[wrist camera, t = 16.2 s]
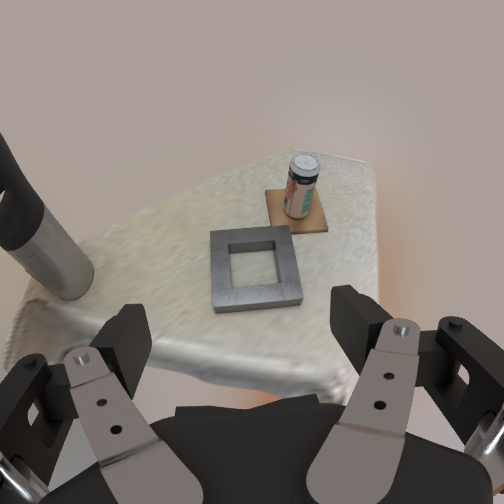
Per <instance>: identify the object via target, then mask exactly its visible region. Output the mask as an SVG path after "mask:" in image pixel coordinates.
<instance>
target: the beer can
mask: <svg viewBox="0 0 504 504" xmlns="http://www.w3.org/2000/svg"><path fill="white" fill-rule="evenodd" d="M319 171H320V165H319V162H318V160H317V159H316V157H314V156H312V155H311V154H308V153H300V154H297V155H295V157H294V158H293V159H292V160H291V161H290V166H289V173H288V180H287V187H286V194H285V201H284V211H285V212H286V214H287V215H289V216H290V217H293V218H303V217H305V216H307V215H308V213H309V210H310V205H311V201H312V198H313V194H314V190H315V186H316V182H317V178H318V174H319Z"/></svg>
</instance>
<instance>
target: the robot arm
mask: <svg viewBox="0 0 504 504" xmlns="http://www.w3.org/2000/svg"><path fill="white" fill-rule="evenodd" d="M4 190H5V192H4V195H3V198H2V200H1V202H0V246H1V247H2V248H3V249H4V250H5V251H7V253H9V254H10V255H11V256H12V257H13V258H14V259H15V260H16V261H17V262H19V263H20V264H21V265H22V266H23V267H24V268H25V271H26V272H27V273H29V274H30V275H31V276H32V277H33V278H35V279H36V280H37V281H38V282H39V283H41V284H42V285H43V286H44V287H46V288H47V289H48V290H49V291H51V292H52V293H55V294H57V295H58V296H59V297H61V298H62V299H65V300H74V299H77V298H79V297H80V296H82V295H83V294H84V293H85V292H86V291H87V289H88V288H89V286H90V284H91V282H92V279H93V272H94V270H93V265H92V263H91V261H90V260H89V259H88V257H87V256H86V255H85V254H84V253H83V252H82V251H81V249H80V248H79V247H78V246H77V244H76V243H75V242H74V241H73V240H72V238H71V237H70V236H69V235H68V234H67V232H66V231H65V230H64V229H63V227H62V226H61V225H60V224H59V222H58V221H57V220H56V218H55V217H54V216H53V215H52V213H51V212H50V211H49V209H48V208H47V207H46V205H45V204H44V203H43V201H42V200H41V199H40V197H39V196H38V195H37V193H36V192H35V191H34V189H33V188H32V187H31V185H30V184H29V182H28V181H27V179H26V178H25V176H24V175H23V173H22V171H21V169H20V168H19V166H18V164H17V162H16V160H15V159H14V157H13V155H12V153H11V151H10V149H9V147H8V145H7V143H6V142H5V140H4V138H3V136H2V135H1V133H0V194H1V193H2V192H3V191H4ZM330 327H331V331H332V334H333V335H334V337H335V338H336V340H337V341H338V343H339V345H340V346H341V348H342V349H343V351H344V352H345V354H346V356H347V357H348V359H349V360H350V362H351V363H352V365H353V367H354V368H355V370H356V371H357V373H358V374H359V376H360V377H359V380H358V382H357V384H356V386H355V389H354V391H353V393H352V395H351V397H350V399H349V402H348V404H347V406H343V405H339V404H333V403H319V400H318V398H317V395H316V394H311V395H305V396H299V397H293V398H286V399H281V400H278V401H274V402H272V403H268V404H265V405H262V406H258V407H255V408H251V409H234V408H224V407H216V406H187V407H176V411H175V416H173V417H169V418H165V419H162V420H159V421H156V422H154V423H152V424H150V425H148V423H147V422H146V420H145V419H144V418H143V416H142V415H141V413H140V412H139V411H138V409H137V408H136V407H135V405H134V403H133V402H132V399H133V397H134V394H135V391H136V388H137V385H138V383H139V380H140V378H141V375H142V372H143V370H144V367H145V364H146V362H147V359H148V357H149V354H150V351H151V348H152V339H151V334H150V330H149V326H148V322H147V318H146V313H145V309H144V306H143V305H142V304H125V305H124V306H123V308H122V309H121V310H120V312H119V313H118V315H117V316H114V317H112V318H111V319H109V320H108V321H107V322H106V323H105V324H104V326H103V327H102V329H101V330H100V331H99V332H98V334H97V335H96V337H95V338H94V339H93V341H92V342H91V343H90V345H89V346H88V347H80V348H77V349H75V350H73V351H71V352H69V353H68V354H67V355H66V356H65V358H64V364H57V365H48V363H47V361H46V358H45V357H44V356H43V355H42V354H31V355H27V356H25V357H23V358H22V359H20V360H19V361H18V362H17V363H16V365H15V366H14V367H13V368H12V370H11V371H10V372H9V373H8V375H7V376H6V377H5V378H4V380H3V381H2V382H1V384H0V504H493V496H495V495H496V494H498V493H501V494H504V350H503V349H501V348H500V347H499V346H498V345H497V344H496V343H494V342H493V341H492V340H491V339H489V338H488V337H487V336H486V335H485V334H483V333H482V332H481V331H480V330H478V329H477V328H476V327H475V326H473V325H472V324H471V323H469V322H468V321H467V320H465V319H463V318H459V317H454V316H449V317H444V318H442V319H441V320H440V321H439V324H438V329H437V330H432V331H420V327H419V326H418V324H417V323H415V322H413V321H411V320H407V319H402V318H396V319H394V318H393V317H392V316H390V315H389V314H388V313H387V312H386V311H385V310H384V309H383V308H382V307H381V306H380V305H379V304H377V303H376V302H375V301H374V300H373V299H372V298H371V297H368V296H366V295H364V294H359V293H358V292H357V291H356V290H355V289H354V288H353V287H352V286H351V285H343V286H335V287H332V290H331V305H330ZM461 364H462V365H463V366H464V367H465V369H466V370H467V371H468V373H469V384H468V385H467V384H466V383H465V382H464V381H463V380H462V378H461V377H460V376H459V375H458V372H459V369H460V366H461ZM420 386H423V387H424V388H425V390H426V391H427V392H428V394H429V395H430V396H431V398H432V399H433V401H434V402H435V404H436V405H437V406H438V408H439V409H440V411H441V412H442V413H443V415H444V416H445V418H446V419H447V420H448V422H449V423H450V425H451V426H452V428H453V429H454V431H455V432H456V434H457V435H458V436H459V438H460V439H461V441H462V442H463V444H464V445H465V449H464V453H463V452H460V451H457V450H454V449H451V448H448V447H445V446H442V445H439V444H437V443H434V442H431V441H428V440H426V439H423V438H421V437H418V436H415V435H413V434H410V433H408V432H406V428H407V423H408V419H409V414H410V409H411V405H412V400H413V394H414V389H415V387H420ZM32 403H34V405H35V406H36V408H37V410H38V411H39V413H38V415H37V417H36V419H35V421H34V423H33V424H32V426H31V425H30V424H29V421H28V410H29V409H30V407H31V405H32ZM77 418H80V420H81V423H82V426H83V428H84V431H85V433H86V435H87V438H88V440H89V442H90V445H91V447H92V449H93V451H94V454H95V456H96V458H97V460H98V461H97V462H96V463H94V464H93V465H91V466H90V467H89V468H87V469H86V470H84V471H83V472H81V473H80V474H78V475H77V476H75V477H73V478H72V479H70V480H69V481H67V482H66V483H64V484H63V485H61V486H59V487H58V488H56V489H55V490H53V491H52V492H49V489H48V485H49V482H50V479H51V476H52V473H53V471H54V468H55V465H56V462H57V459H58V457H59V454H60V452H61V449H62V447H63V444H64V441H65V439H66V437H67V434H68V432H69V429H70V427H71V425H72V422H73V419H77Z"/></svg>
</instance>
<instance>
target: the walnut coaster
mask: <svg viewBox="0 0 504 504" xmlns="http://www.w3.org/2000/svg"><path fill="white" fill-rule="evenodd" d="M265 194H266V200H267V206H268V211H269V217H270V223H271V226H280V225H289V228H290V232H291V234H304V233H317V232H328V226H327V222H326V219H325V216H324V212H323V209H322V206H321V203H320V200H319V196H318V193H317V190H316V188H315V190H314V194H313V198H312V201H311V205H310V210H309V213H308V215H307V216H305V217H303V218H293V217H290V216H289V215H287V214H286V212H285V211H284V201H285V194H286V189H276V190H265Z"/></svg>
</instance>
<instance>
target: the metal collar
mask: <svg viewBox="0 0 504 504" xmlns="http://www.w3.org/2000/svg"><path fill="white" fill-rule="evenodd" d="M210 242H211V267H212V288H213V307H214V310H215V313H227V312H239V311H250V310H260V309H270V308H279V307H288V306H297V305H300V304H301V302H302V300H303V293H302V288H301V282H300V277H299V272H298V267H297V262H296V257H295V252H294V247H293V242H292V237H291V232H290V228H289V225H280V226H267V227H254V228H241V229H229V230H218V231H210ZM264 250H274V255H275V261H276V267H277V274H278V280H279V283H276V284H266V285H256V286H245V287H233V288H232V285H231V273H230V260H229V253H241V252H252V251H264Z"/></svg>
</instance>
